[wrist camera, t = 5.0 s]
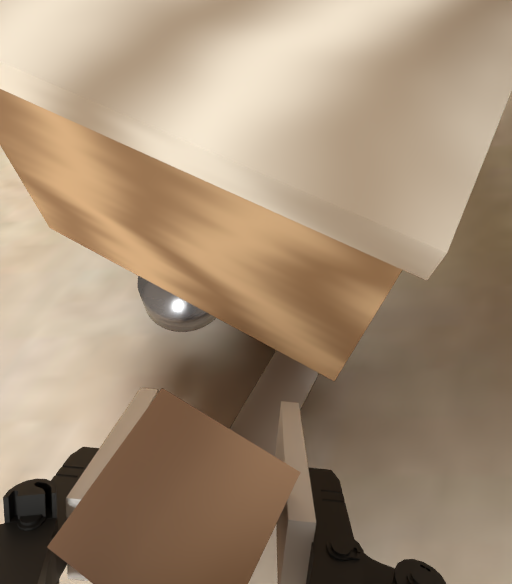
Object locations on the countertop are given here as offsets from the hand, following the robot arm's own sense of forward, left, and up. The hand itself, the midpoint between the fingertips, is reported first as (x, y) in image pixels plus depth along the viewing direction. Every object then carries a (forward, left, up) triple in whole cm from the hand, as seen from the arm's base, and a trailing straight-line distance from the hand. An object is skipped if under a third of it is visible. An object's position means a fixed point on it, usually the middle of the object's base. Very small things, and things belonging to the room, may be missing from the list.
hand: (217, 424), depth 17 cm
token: (+6, -6, -4) cm, 10 cm away
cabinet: (+4, -10, -3) cm, 11 cm away
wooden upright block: (-2, -2, -3) cm, 4 cm away
